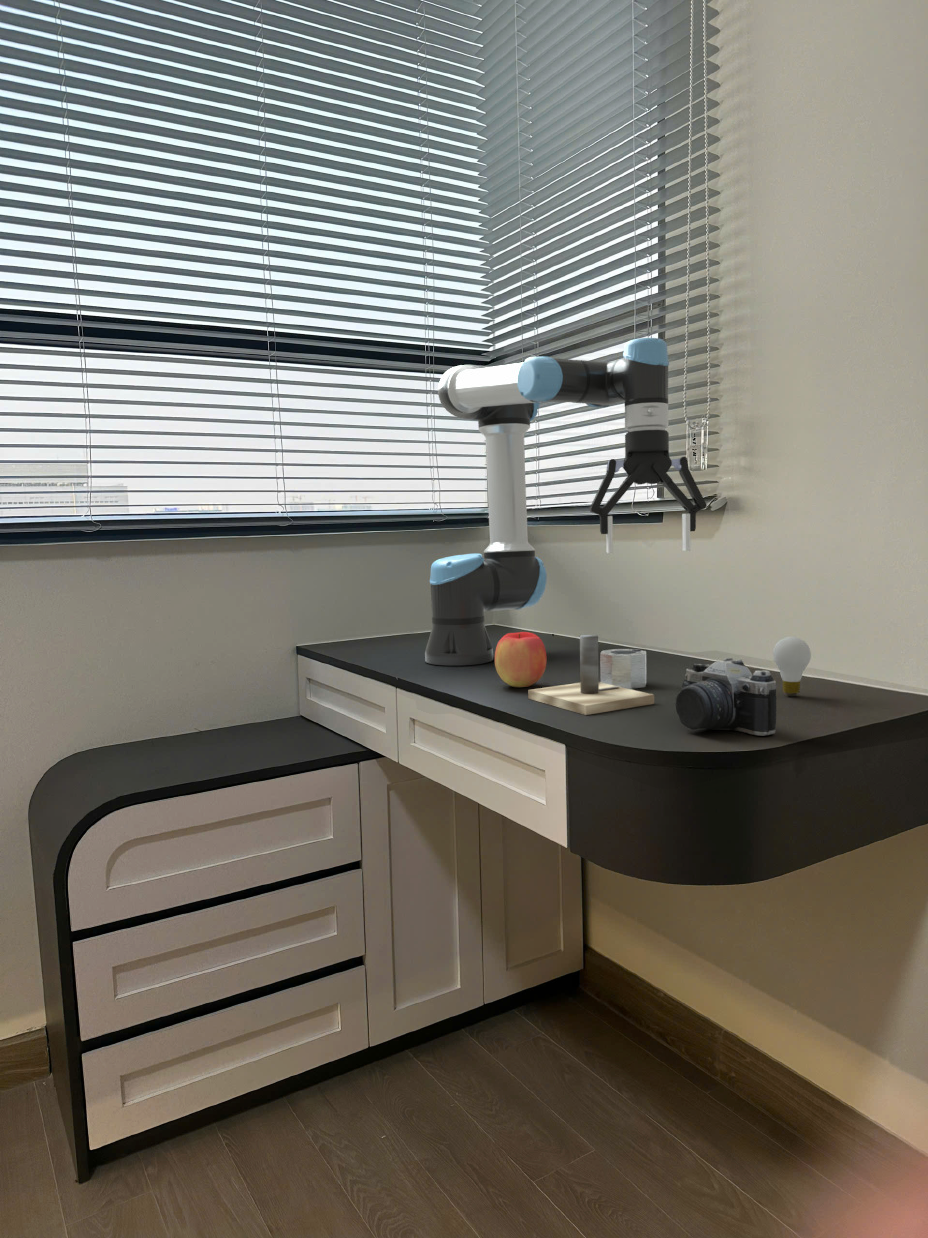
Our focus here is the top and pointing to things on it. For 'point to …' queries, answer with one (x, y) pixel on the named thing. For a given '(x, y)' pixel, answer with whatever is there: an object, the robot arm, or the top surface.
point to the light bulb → (791, 662)
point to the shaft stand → (590, 688)
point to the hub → (623, 668)
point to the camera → (728, 698)
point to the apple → (520, 659)
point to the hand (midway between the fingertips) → (647, 551)
